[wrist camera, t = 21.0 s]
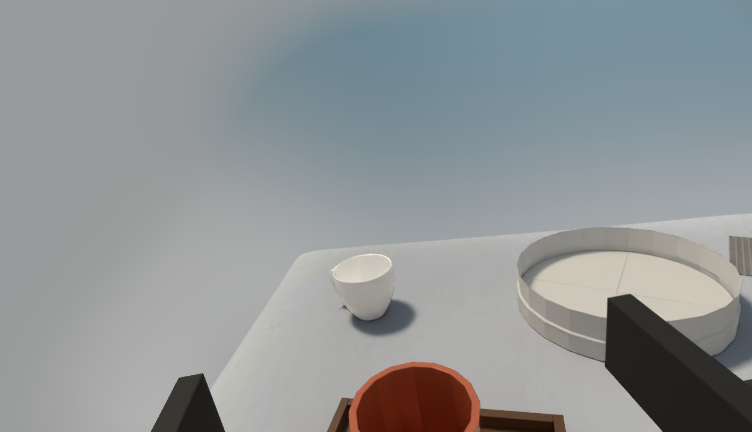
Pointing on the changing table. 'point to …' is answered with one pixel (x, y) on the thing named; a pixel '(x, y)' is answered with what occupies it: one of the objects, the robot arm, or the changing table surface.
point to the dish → (626, 286)
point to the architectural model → (741, 254)
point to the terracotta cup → (416, 401)
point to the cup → (364, 284)
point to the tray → (498, 425)
